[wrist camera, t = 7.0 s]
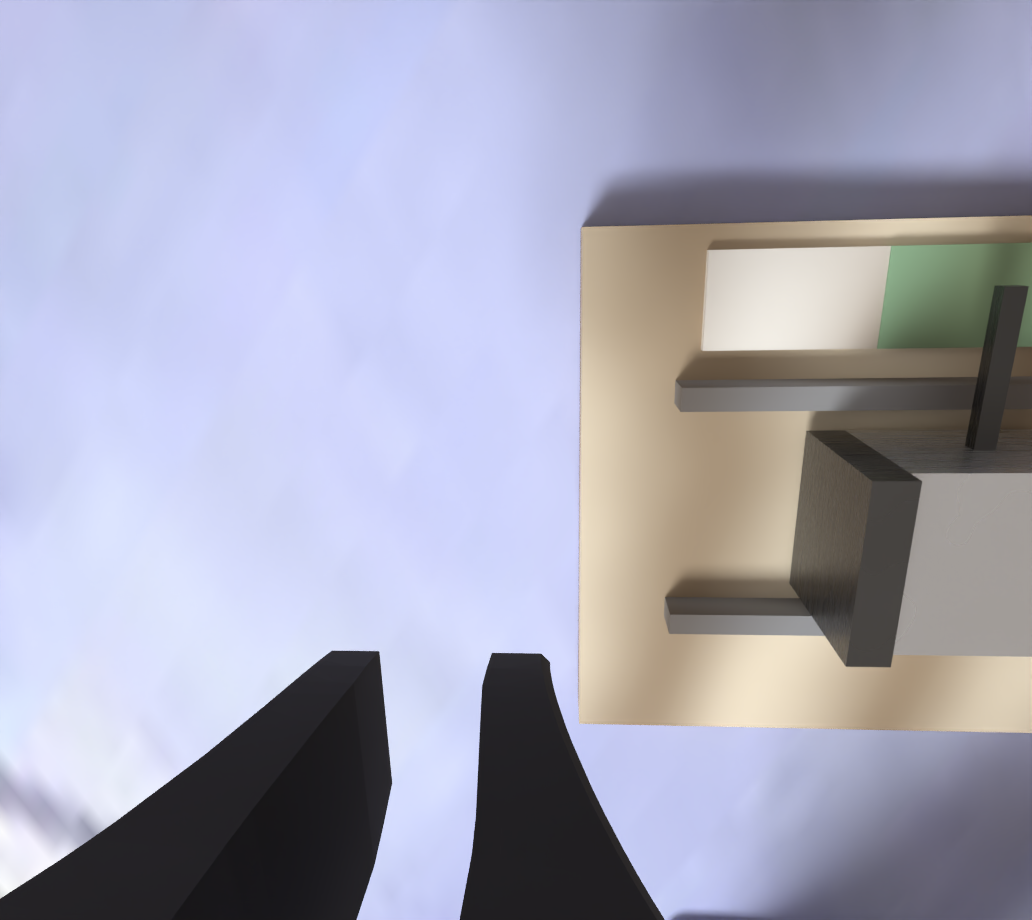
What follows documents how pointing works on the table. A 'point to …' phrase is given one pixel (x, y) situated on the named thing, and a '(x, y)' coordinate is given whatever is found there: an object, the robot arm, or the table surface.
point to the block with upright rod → (923, 526)
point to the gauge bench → (768, 457)
